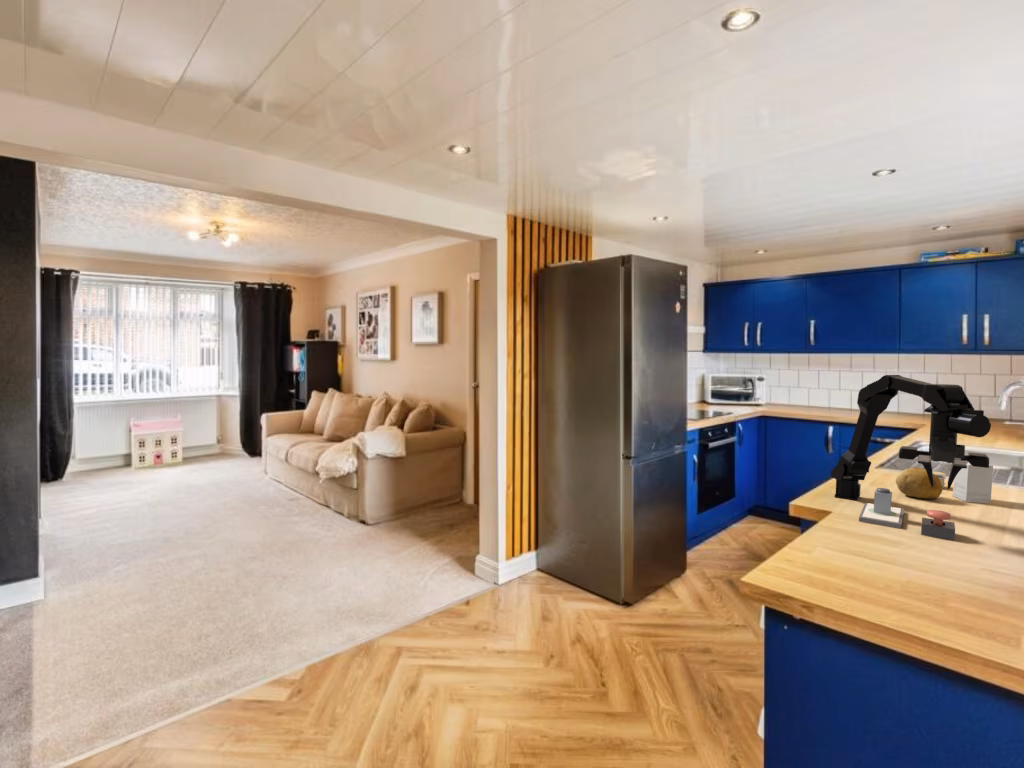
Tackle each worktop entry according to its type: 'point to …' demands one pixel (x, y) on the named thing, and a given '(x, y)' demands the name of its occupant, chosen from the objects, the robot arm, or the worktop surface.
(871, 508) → the drawing board
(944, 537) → the button housing
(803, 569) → the worktop surface
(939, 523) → the button
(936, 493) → the potato
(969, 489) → the supplement box
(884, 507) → the grey rectangular block
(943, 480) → the stacked layers on plate
